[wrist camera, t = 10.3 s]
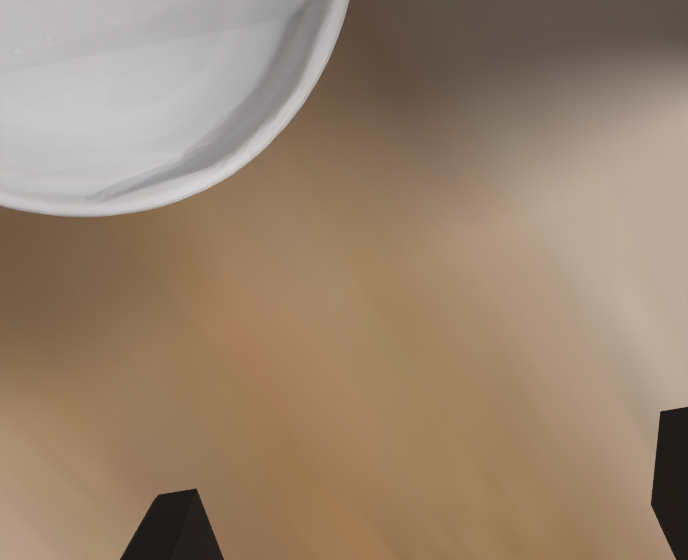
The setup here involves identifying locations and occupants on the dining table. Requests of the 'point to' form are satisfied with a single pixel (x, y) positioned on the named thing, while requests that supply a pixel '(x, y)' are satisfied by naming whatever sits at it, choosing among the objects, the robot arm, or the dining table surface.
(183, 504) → the robot arm
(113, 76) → the ramekin
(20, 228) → the dining table surface
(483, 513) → the dining table surface
